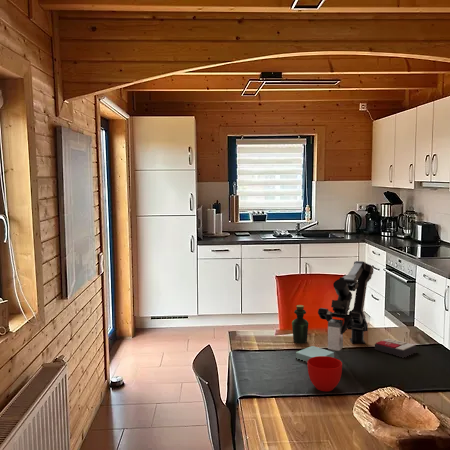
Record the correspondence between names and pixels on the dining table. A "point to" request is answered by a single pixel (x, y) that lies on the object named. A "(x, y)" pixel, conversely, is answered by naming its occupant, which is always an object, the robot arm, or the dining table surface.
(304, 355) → the stand
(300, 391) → the dining table surface
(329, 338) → the housing
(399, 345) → the red grey flat block
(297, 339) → the potion bottle
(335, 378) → the ceramic cup
